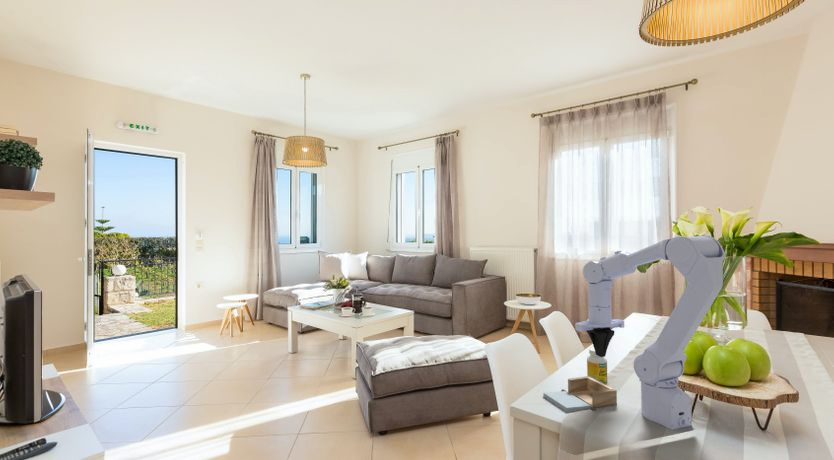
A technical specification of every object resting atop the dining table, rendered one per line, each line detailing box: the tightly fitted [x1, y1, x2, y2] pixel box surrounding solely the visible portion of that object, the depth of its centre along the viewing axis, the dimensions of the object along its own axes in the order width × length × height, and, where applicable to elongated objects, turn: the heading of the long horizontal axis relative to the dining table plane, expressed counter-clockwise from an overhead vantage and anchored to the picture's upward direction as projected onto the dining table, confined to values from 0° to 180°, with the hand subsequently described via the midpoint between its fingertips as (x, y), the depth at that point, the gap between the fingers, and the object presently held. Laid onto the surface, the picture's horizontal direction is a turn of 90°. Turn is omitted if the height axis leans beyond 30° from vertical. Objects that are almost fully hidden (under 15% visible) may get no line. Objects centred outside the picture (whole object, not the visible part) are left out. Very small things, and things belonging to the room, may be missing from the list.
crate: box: [561, 375, 618, 411], centre depth 99 cm, size 12×8×4 cm
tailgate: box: [542, 390, 591, 413], centre depth 97 cm, size 9×1×7 cm
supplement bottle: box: [586, 347, 608, 384], centre depth 112 cm, size 5×5×10 cm
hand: (600, 355), depth 104 cm, fingers closed
